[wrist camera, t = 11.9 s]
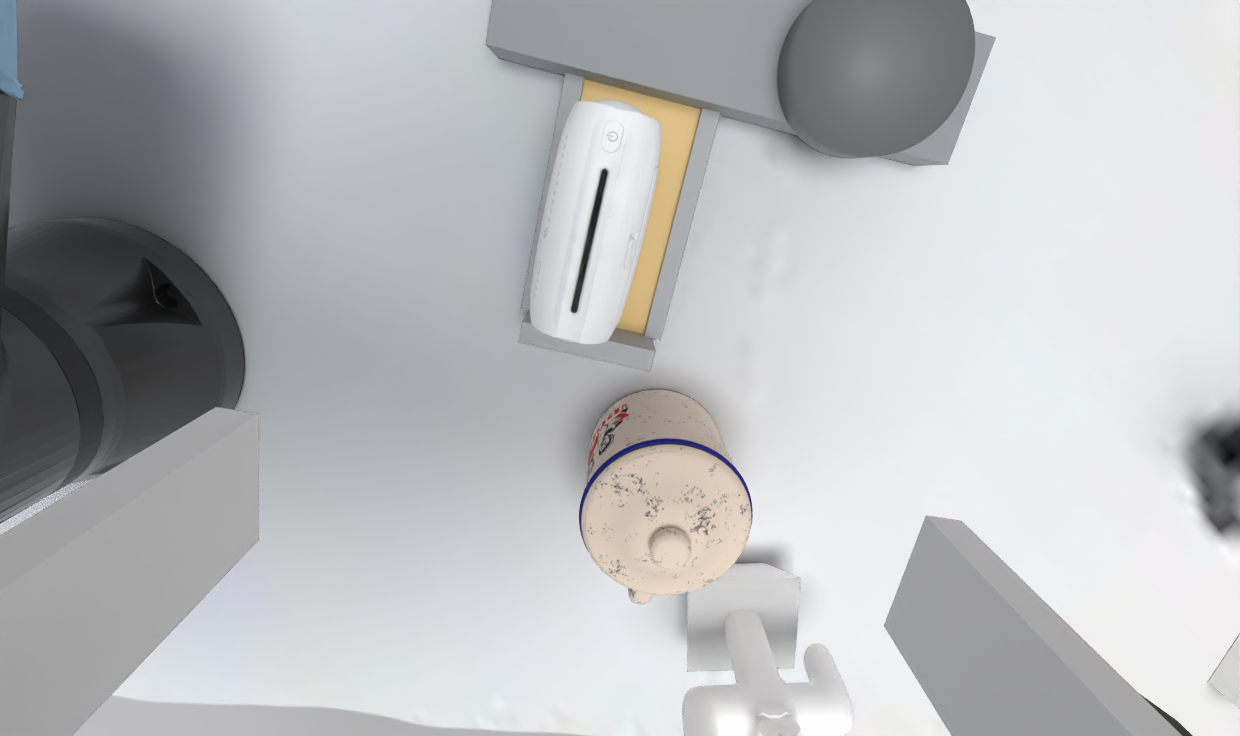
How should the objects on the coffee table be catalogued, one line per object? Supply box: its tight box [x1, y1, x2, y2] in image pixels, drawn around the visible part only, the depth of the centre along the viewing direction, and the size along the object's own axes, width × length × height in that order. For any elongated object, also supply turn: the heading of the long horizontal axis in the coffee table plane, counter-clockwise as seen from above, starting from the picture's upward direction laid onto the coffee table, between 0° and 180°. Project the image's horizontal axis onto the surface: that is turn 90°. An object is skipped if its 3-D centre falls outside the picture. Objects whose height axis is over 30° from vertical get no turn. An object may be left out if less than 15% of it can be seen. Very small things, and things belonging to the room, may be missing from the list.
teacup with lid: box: [579, 390, 752, 604], centre depth 34 cm, size 12×9×12 cm
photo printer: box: [530, 99, 661, 344], centre depth 28 cm, size 10×4×12 cm, turn 166°
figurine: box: [682, 563, 854, 736], centre depth 36 cm, size 7×9×15 cm
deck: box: [486, 0, 996, 371], centre depth 31 cm, size 24×21×7 cm
